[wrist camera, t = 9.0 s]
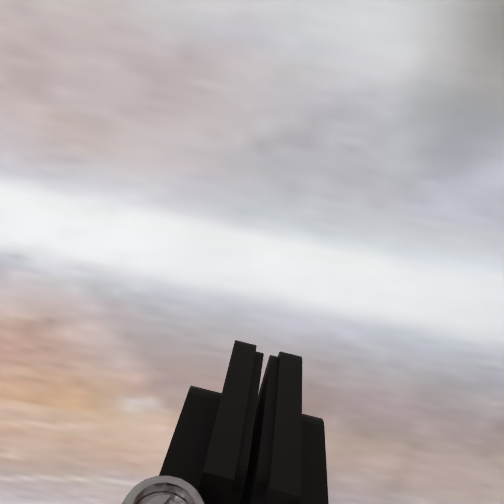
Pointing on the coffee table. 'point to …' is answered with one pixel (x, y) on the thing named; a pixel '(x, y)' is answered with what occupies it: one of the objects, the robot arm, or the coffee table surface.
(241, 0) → the coffee table surface
